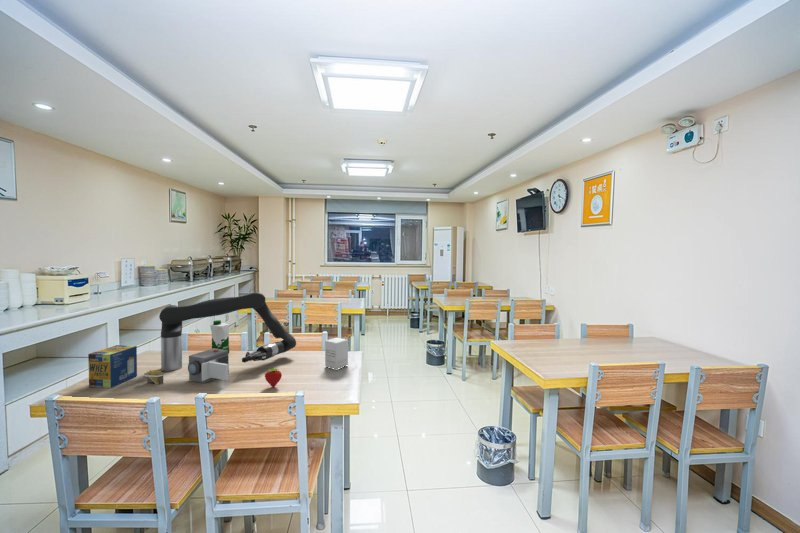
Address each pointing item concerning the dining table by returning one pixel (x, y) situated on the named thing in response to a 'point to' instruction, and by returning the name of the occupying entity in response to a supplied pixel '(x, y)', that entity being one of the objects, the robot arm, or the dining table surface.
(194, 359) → the camera body
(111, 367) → the protein box
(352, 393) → the dining table surface
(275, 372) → the strawberry
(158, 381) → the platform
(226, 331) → the milk carton
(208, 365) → the hatch
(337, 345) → the supplement box
